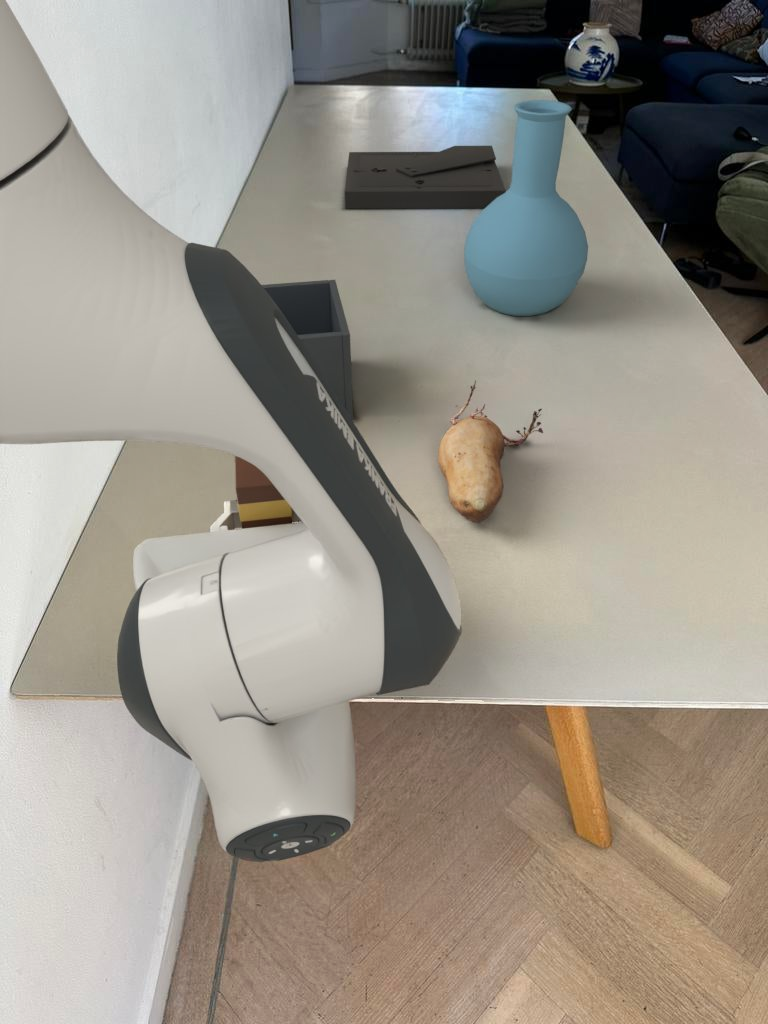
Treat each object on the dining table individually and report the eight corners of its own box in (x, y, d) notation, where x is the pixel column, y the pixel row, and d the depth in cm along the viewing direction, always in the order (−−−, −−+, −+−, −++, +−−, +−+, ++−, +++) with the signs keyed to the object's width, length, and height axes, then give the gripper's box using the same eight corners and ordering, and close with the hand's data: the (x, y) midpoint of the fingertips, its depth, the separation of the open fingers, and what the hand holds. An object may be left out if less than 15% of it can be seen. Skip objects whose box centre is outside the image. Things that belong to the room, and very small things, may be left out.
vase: (476, 332, 101) (493, 128, 84) (449, 280, 113) (460, 92, 97) (595, 323, 103) (635, 121, 86) (556, 272, 115) (584, 87, 99)
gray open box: (231, 431, 84) (216, 345, 77) (230, 369, 94) (217, 287, 87) (353, 419, 85) (350, 334, 79) (339, 359, 96) (335, 279, 89)
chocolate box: (251, 588, 65) (234, 488, 58) (249, 540, 69) (233, 442, 62) (299, 583, 65) (288, 483, 58) (294, 535, 70) (283, 437, 63)
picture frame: (490, 167, 153) (349, 168, 154) (491, 145, 151) (348, 146, 151) (504, 208, 136) (345, 209, 136) (506, 183, 133) (344, 184, 133)
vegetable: (575, 517, 68) (533, 432, 63) (463, 558, 72) (415, 480, 67) (554, 426, 81) (518, 348, 75) (460, 464, 84) (419, 392, 79)
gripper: (420, 579, 53) (387, 461, 63) (118, 615, 50) (135, 486, 61) (417, 638, 57) (387, 518, 67) (138, 673, 55) (151, 543, 65)
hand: (265, 503), depth 64 cm, fingers closed on chocolate box, 4 cm apart
